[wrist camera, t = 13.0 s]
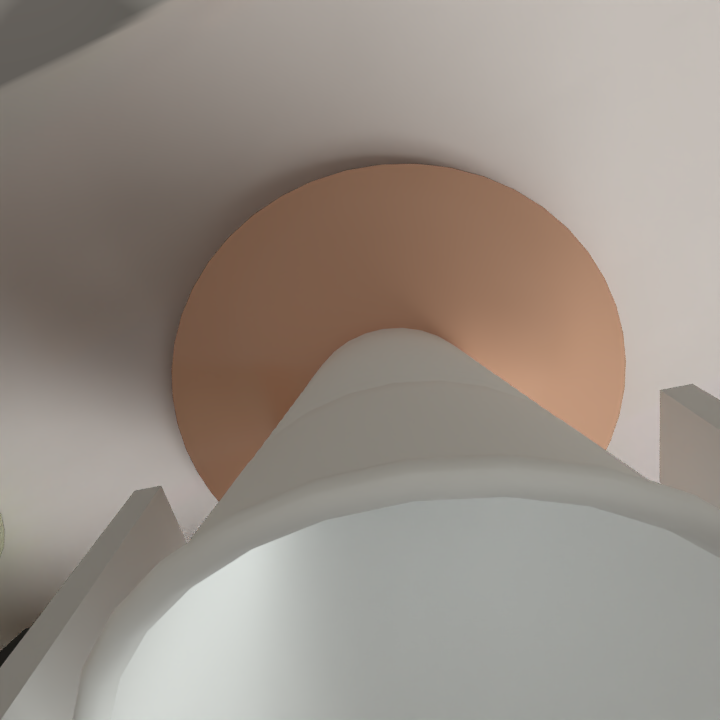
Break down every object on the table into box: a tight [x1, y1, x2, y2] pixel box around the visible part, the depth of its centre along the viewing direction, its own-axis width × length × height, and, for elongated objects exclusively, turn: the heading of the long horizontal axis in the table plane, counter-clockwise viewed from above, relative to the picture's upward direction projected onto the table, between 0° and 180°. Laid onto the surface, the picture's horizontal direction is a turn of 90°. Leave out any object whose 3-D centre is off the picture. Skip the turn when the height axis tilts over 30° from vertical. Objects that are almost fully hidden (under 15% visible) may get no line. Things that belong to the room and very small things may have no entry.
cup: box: [73, 328, 720, 720], centre depth 11 cm, size 10×10×11 cm
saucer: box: [172, 164, 626, 501], centre depth 17 cm, size 16×16×1 cm
